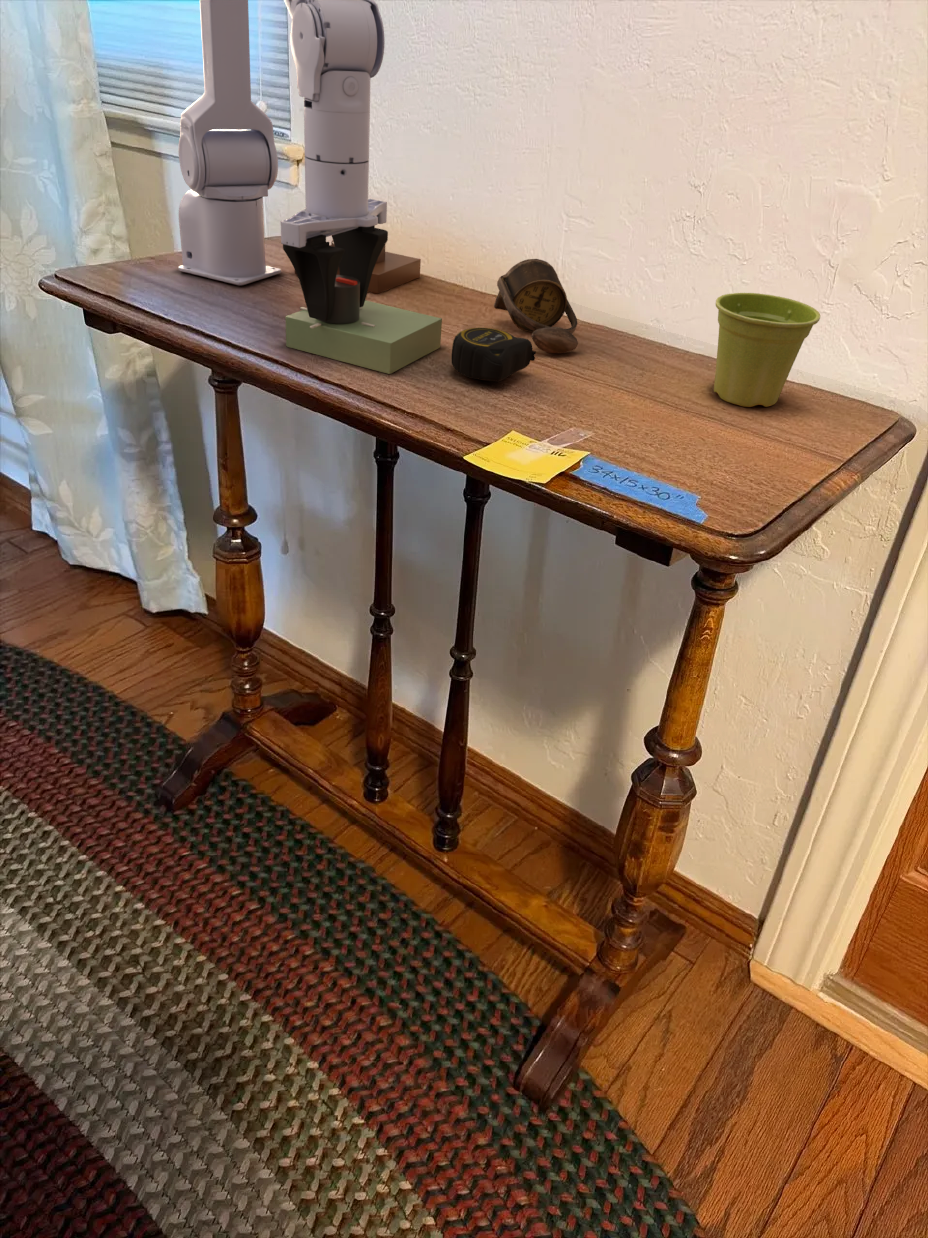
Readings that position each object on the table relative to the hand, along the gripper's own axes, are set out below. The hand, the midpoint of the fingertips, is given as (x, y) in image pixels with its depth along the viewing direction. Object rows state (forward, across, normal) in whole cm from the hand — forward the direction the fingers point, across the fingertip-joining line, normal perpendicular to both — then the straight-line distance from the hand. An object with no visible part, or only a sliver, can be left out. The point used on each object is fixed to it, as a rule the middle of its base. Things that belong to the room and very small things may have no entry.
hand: (336, 311), depth 90 cm
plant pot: (+4, +14, -38) cm, 41 cm away
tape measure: (+4, +3, -16) cm, 17 cm away
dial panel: (+4, +2, -2) cm, 5 cm away
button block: (+4, +24, +13) cm, 28 cm away
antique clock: (+4, +17, -14) cm, 22 cm away
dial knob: (+1, 0, 0) cm, 1 cm away
